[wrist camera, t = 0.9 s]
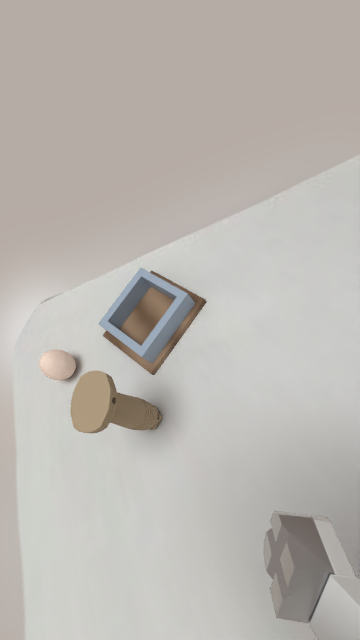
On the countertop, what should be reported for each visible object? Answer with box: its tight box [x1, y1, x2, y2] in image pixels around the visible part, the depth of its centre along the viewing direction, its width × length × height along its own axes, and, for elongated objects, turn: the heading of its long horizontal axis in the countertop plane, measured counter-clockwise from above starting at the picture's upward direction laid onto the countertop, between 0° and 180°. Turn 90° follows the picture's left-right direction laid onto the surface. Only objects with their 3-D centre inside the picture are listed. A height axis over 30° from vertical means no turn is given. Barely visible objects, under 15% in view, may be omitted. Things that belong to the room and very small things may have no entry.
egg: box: [39, 350, 76, 380], centre depth 53 cm, size 5×5×7 cm
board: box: [103, 271, 206, 375], centre depth 53 cm, size 14×12×1 cm
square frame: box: [99, 268, 195, 364], centre depth 51 cm, size 11×10×4 cm
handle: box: [71, 371, 162, 433], centre depth 41 cm, size 5×6×15 cm
